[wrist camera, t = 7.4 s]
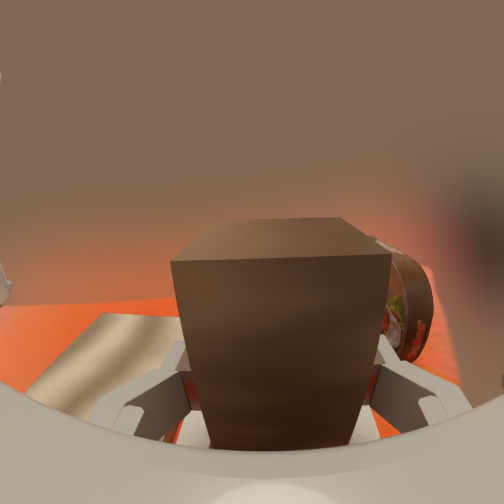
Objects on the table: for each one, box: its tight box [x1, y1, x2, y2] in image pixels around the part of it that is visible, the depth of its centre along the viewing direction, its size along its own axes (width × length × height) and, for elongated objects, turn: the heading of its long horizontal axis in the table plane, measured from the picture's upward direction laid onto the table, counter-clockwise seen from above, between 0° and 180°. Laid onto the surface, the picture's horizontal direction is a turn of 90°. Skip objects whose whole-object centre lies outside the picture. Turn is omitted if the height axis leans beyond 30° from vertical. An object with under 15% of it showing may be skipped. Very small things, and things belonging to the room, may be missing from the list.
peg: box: [170, 218, 392, 451], centre depth 8 cm, size 4×4×12 cm
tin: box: [368, 236, 434, 363], centre depth 21 cm, size 15×3×8 cm, turn 0°
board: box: [24, 313, 184, 443], centre depth 18 cm, size 12×14×1 cm
